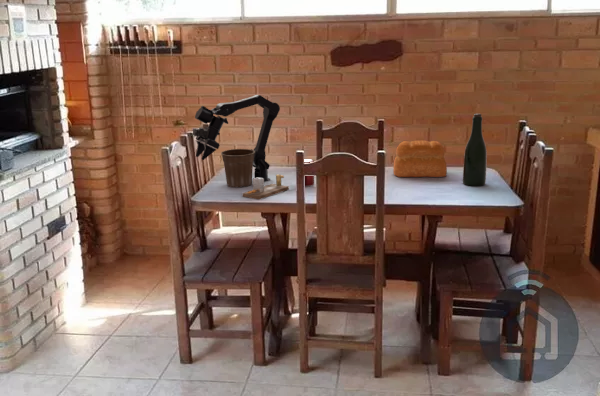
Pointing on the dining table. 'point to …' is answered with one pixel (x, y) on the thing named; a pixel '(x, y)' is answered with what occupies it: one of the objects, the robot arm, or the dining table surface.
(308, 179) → the soda can
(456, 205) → the dining table surface
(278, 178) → the keeper hook
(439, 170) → the bread
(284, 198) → the dining table surface
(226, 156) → the plant pot
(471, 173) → the green wine bottle
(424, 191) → the dining table surface
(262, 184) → the grey metal piece
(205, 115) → the robot arm
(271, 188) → the board
